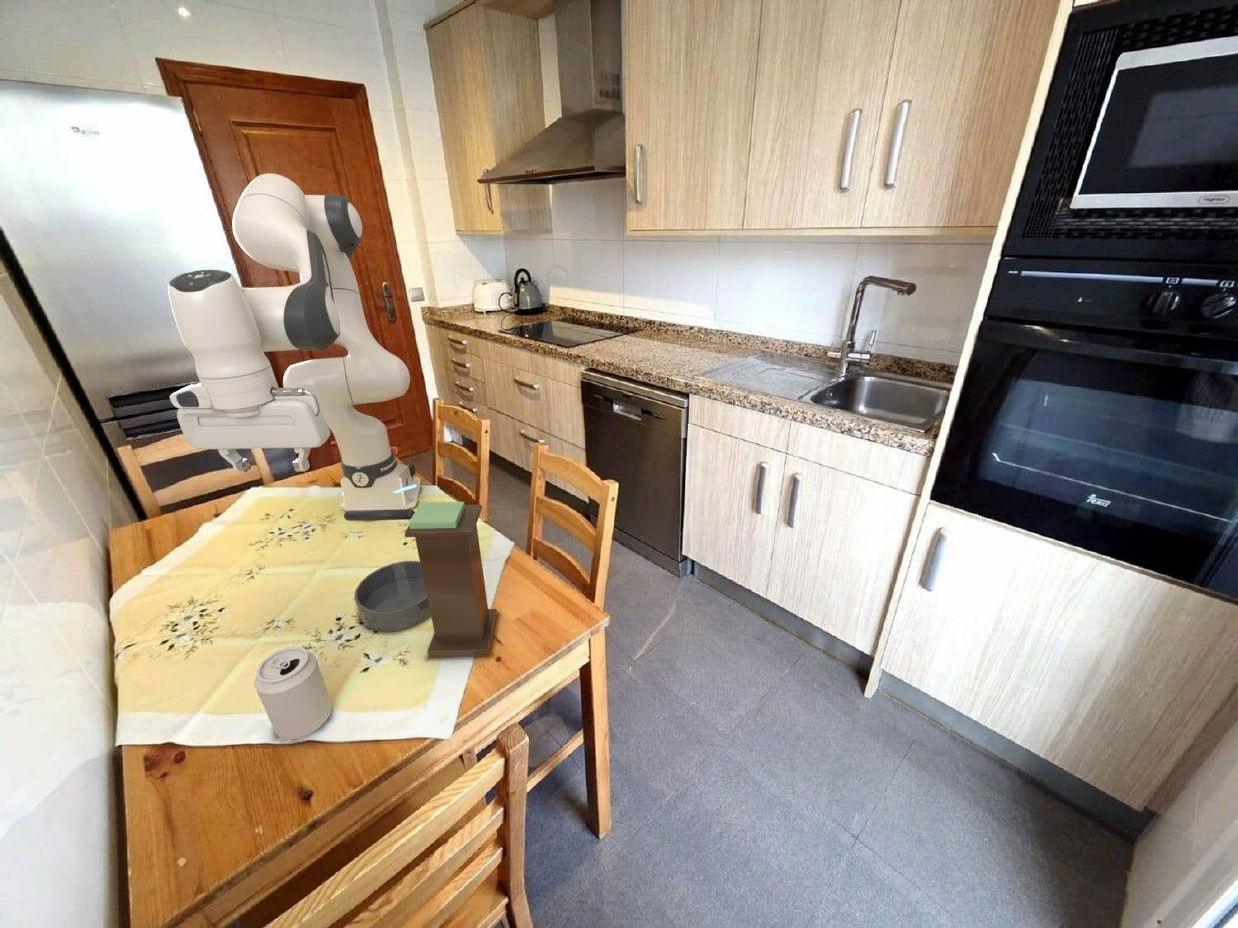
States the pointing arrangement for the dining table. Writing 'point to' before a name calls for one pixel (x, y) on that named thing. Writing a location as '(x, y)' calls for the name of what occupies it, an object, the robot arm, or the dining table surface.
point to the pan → (393, 597)
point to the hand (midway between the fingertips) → (273, 470)
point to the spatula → (416, 515)
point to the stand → (456, 588)
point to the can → (293, 692)
